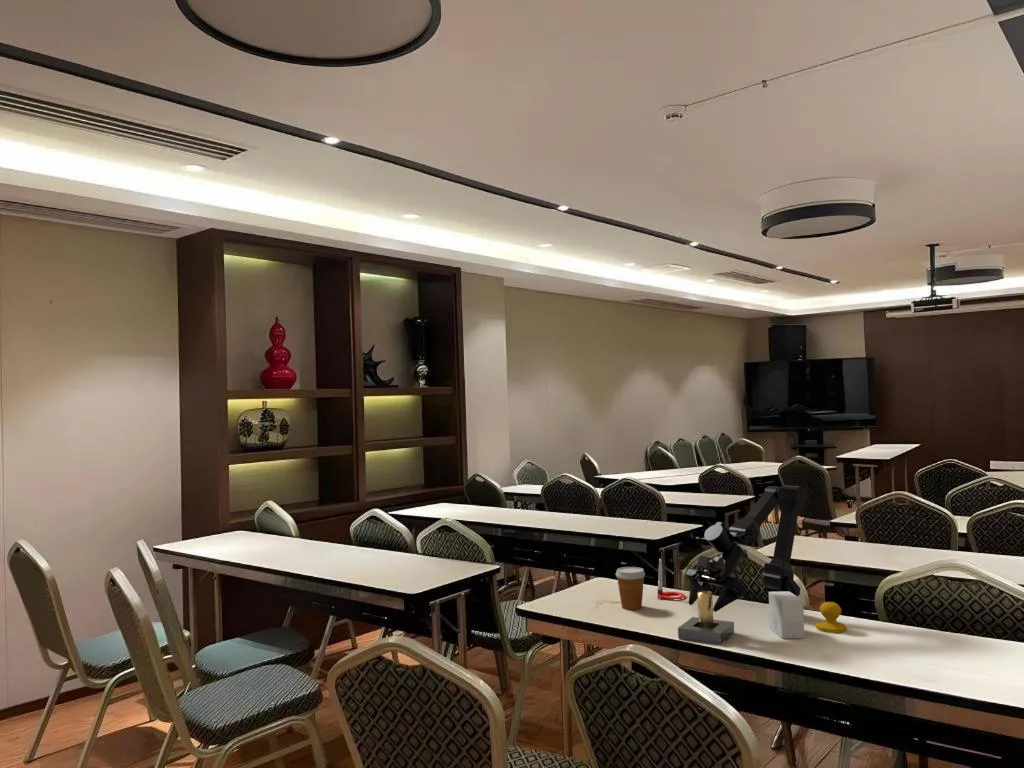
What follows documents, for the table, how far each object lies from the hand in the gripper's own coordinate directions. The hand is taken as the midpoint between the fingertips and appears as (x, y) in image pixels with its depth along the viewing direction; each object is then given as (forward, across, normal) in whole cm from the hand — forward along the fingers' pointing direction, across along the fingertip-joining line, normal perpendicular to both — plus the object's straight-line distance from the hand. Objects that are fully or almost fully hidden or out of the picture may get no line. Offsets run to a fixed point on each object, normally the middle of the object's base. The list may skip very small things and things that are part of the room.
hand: (701, 607), depth 211 cm
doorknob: (-17, +17, +29) cm, 38 cm away
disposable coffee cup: (+2, -36, +10) cm, 37 cm away
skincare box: (-8, +12, +20) cm, 25 cm away
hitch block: (+5, 0, +7) cm, 8 cm away
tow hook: (-11, -37, +23) cm, 45 cm away
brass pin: (+5, 0, +7) cm, 8 cm away
